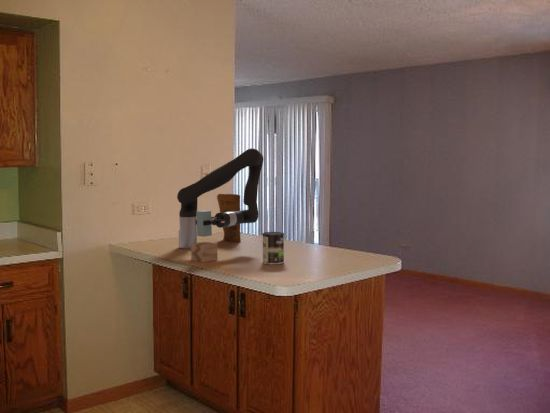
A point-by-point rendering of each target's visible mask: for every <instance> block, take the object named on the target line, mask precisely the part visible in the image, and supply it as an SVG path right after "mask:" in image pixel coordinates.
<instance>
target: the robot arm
mask: <svg viewBox="0 0 550 413" xmlns="http://www.w3.org/2000/svg"><path fill="white" fill-rule="evenodd" d="M263 164H264V155H263V154H262V153H261V152H260V151H259V150H258V149H256V148H252V147H251V148H248V149H246V150H245V151H242V153H241V154H239V155H238V156H236V157H235V158H234V159H232V160H230V161H228V162H226V163H225V164H222V166H220V167H217V168H216V169H214V170H212V171H210V172H209V173H208V174H206V175H204V176H203V177H202V178H201V179H199V180H198V181H196V182H194V183H192V184H190V185H188V186H186V187H182V188H181V189H179V190H178V192H177V195H176V199H177V201H178V202H179V203H180V210H179V212H178V213H179V214H178V216H179V230H178V248H180V249H190V250H191V244H192V243H198V240H197V238H198V236H197V215H196V211H198V198H199V197H201V196H202V195H204V194H206V193H208V192H211V191H214V190H216V189H218V188H220V187H222V186H224V185H225V184H228V183H229V182H230V181H231V180H233V178H234V177H235V176H236V175H237V174H238V173H239V172H240V171H242V170H244V169H246V168H247V167H248V178H247V181H246V183H245V186H244V189H243V190H244V192H243V200H242V202H243V204H244V205H245V206H247V207H248V209H240V211H233V212H221V213H220V212H217V213H215V215H214V216H211V220H207V221H203V225H204V226H205V225H211V226H216V227H217V228H220V229H221V228H222V229H223V227H229V226H233V225H238V224H240V225H241V224H253V223H256V222H257V221H258V219H259V214H260V213H259V208H258V203H257V202H258V191H259V190H258V189H259V181H260V178H261V177H260V176H261V172H262V168H263Z"/></svg>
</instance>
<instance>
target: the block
mask: <svg viewBox="0 0 550 413" xmlns="http://www.w3.org/2000/svg"><path fill="white" fill-rule="evenodd" d="M190 257H191V258H190V260H191V261H195V262H200V263H207V262H212V261H217V260H218V242H211V241H199V242H197V243H192V244H191V248H190Z"/></svg>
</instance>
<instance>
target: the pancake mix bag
mask: <svg viewBox="0 0 550 413" xmlns="http://www.w3.org/2000/svg"><path fill="white" fill-rule="evenodd" d="M216 200H217V203H218V209H219V213H221V212H233V211H241V195H240V194H235V193H218V194H217V195H216ZM222 230H223V239H222V241H227V242H232V243H241V242H242V241H241V224H238V225H233V226H229V227H222Z"/></svg>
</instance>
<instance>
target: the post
mask: <svg viewBox="0 0 550 413" xmlns="http://www.w3.org/2000/svg"><path fill="white" fill-rule="evenodd" d="M211 217H212V210H203V209H202V210H197V211H196V220H197V237H202V238H204V237H211V236H212V234H213V233H212V231H213V230H212V225H205V226H204V225H203V221H207V220H211Z"/></svg>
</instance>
